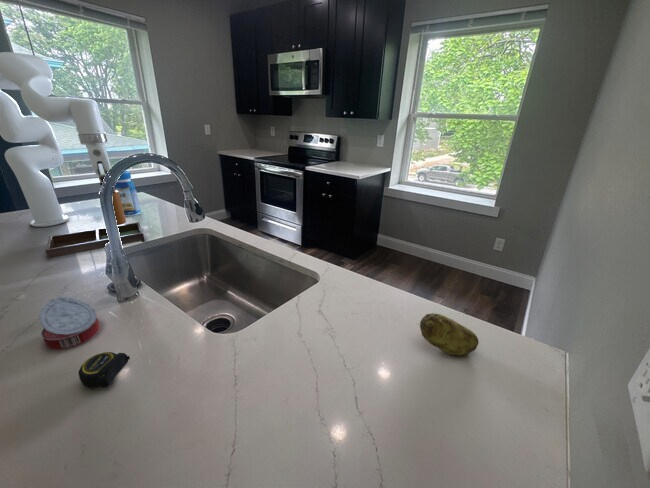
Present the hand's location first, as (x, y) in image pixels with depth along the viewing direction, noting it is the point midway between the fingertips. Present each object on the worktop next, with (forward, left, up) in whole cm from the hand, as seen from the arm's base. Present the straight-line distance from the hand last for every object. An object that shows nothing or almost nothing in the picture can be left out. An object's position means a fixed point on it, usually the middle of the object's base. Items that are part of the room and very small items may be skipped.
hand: (108, 191), depth 108 cm
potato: (+106, +57, -19) cm, 122 cm away
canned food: (+55, -13, -19) cm, 60 cm away
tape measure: (+73, -7, -19) cm, 76 cm away
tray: (0, -7, -19) cm, 20 cm away
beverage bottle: (-31, +6, -19) cm, 37 cm away
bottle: (0, 0, -12) cm, 12 cm away
